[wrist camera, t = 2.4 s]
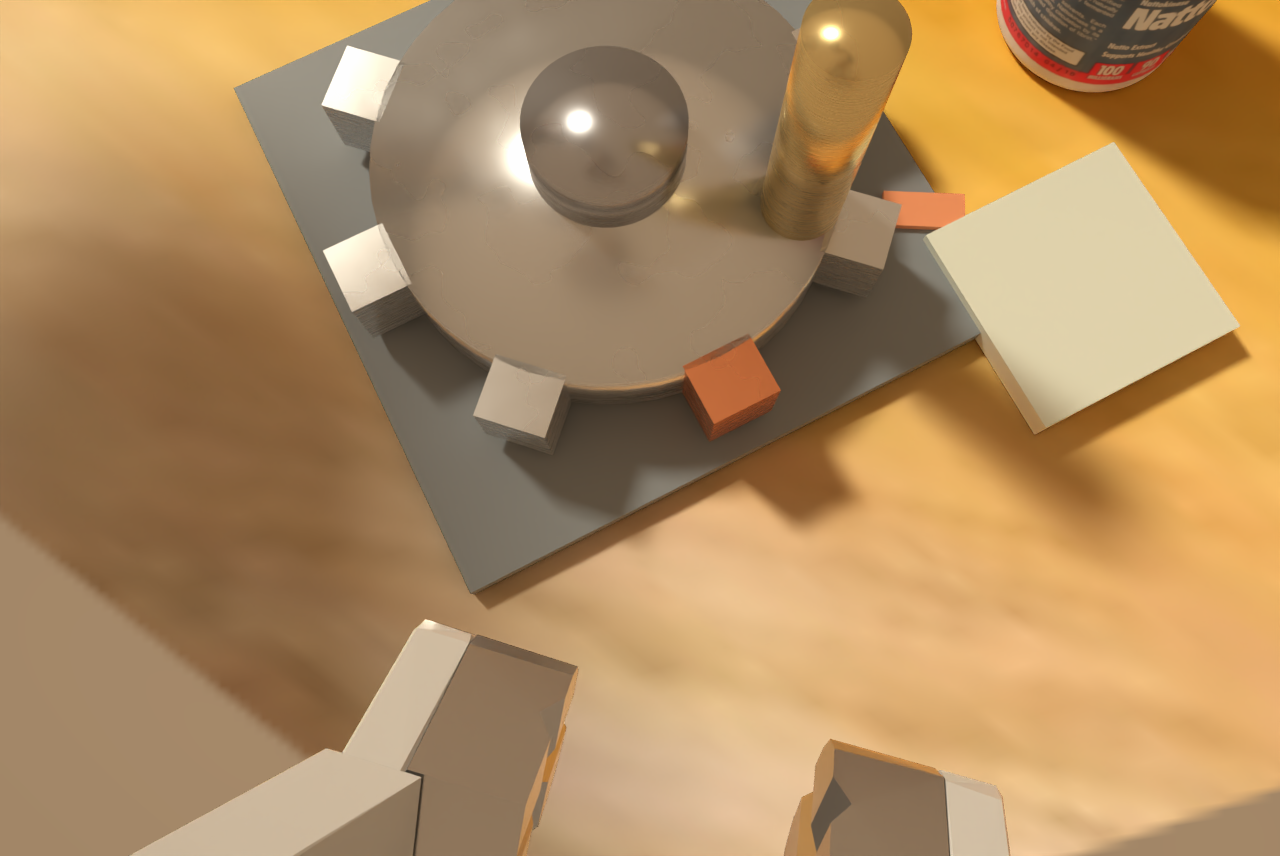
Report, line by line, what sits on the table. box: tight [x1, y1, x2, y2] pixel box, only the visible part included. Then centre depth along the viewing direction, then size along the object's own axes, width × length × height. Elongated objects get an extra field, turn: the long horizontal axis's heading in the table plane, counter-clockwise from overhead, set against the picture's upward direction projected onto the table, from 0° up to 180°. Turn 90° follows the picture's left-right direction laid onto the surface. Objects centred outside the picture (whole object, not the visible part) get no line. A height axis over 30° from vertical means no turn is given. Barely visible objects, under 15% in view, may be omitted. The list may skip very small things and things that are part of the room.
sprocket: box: [321, 0, 912, 455], centre depth 23 cm, size 15×15×9 cm
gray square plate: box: [234, 0, 981, 594], centre depth 28 cm, size 16×17×1 cm
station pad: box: [923, 142, 1240, 435], centre depth 27 cm, size 6×6×1 cm
